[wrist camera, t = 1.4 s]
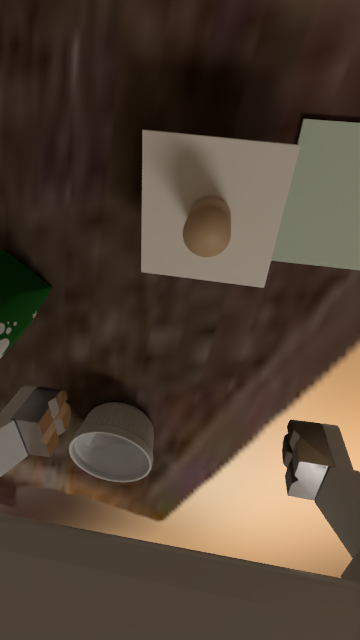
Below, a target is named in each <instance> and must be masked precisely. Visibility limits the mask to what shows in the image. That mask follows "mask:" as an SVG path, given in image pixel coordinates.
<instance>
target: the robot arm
mask: <svg viewBox="0 0 360 640" xmlns="http://www.w3.org/2000/svg"><path fill="white" fill-rule="evenodd" d="M67 398H68V397H67V394H66V391H63V390H58V389H52V388H45V387H38V386H31V385H25V386H23V387H22V388H21V389H20V390H19V391H18V393H17V394H16V395H15V396H14V397H13V399H12V400H11V401H10V402H9V403H8V405H7V406H6V407H5V408H4V409H3V410H2V412H1V413H0V477H1V476H2V475H4V474H5V473H6V472H7V471H9V470H10V469H11V468H13V467H14V466H15V465H16V464H18V463H19V462H20V461H21V460H23V459H24V458H25V457H27V456H28V454H30V455H38V456H46V457H50V456H51V454H52V453H53V451H54V449H55V447H56V446H57V444H58V442H59V439H58V435H60V434H61V433H63V432H64V431H65V430H66V428H67V426H68V424H69V421H70V417H71V410H70V406H69V405H68V404H67V403H66V402H65V401H66V399H67ZM287 429H288V434H287V435H285V437H284V441H283V449H282V452H283V463H284V465H285V466H286V467H287V472H286V475H285V478H286V486H287V493H288V496H294V497H299V498H304V499H310V500H315V503H316V505H317V506H318V508H319V509H320V511H321V512H322V514H323V515H324V517H325V518H326V519H327V521H328V522H329V524H330V525H331V527H332V528H333V530H334V531H335V533H336V534H337V535H338V537H339V538H340V540H341V542H342V543H343V544H344V546H345V547H346V549H347V550H348V552H349V553H350V555H351V556H352V558H353V559H352V561H351V562H350V564H349V565H348V567H347V568H346V570H345V571H344V572H343V574H342V575H341V578H337V577H332V576H326V575H321V574H316V573H311V572H305V571H300V570H294V569H289V568H284V567H279V566H274V565H269V564H263V563H258V562H252V561H247V560H242V559H237V558H232V557H227V556H220V555H216V554H211V553H206V552H200V551H195V550H190V549H185V548H179V547H174V546H169V545H163V544H158V543H153V542H148V541H142V540H137V539H132V538H127V537H122V536H116V535H111V534H105V533H100V532H95V531H90V530H85V529H79V528H74V527H69V526H64V525H58V524H53V523H48V522H43V521H37V520H32V519H27V518H21V517H16V516H11V515H5V514H0V640H360V472H359V471H355V470H353V467H352V464H351V461H350V458H349V456H348V452H347V450H346V447H345V444H344V441H343V438H342V435H341V432H340V429H339V427H338V426H335V425H328V424H320V423H314V422H305V421H297V420H290V421H289V423H288V426H287Z"/></svg>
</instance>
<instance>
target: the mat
mask: <svg viewBox="0 0 360 640" xmlns="http://www.w3.org/2000/svg"><path fill="white" fill-rule="evenodd" d="M297 145H300V150H299V154H298V158H297V162H296V165H295V169H294V173H293V177H292V181H291V185H290V189H289V193H288V197H287V200H286V204H285V208H284V212H283V216H282V220H281V224H280V228H279V232H278V235H277V239H276V243H275V247H274V251H273V255H272V259H271V260H272V261H281V262H290V263H299V264H308V265H317V266H326V267H335V268H344V269H353V270H360V123H353V122H340V121H326V120H313V119H303V121H302V125H301V130H300V134H299V138H298V142H297Z"/></svg>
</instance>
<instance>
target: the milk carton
mask: <svg viewBox="0 0 360 640" xmlns="http://www.w3.org/2000/svg"><path fill="white" fill-rule="evenodd" d="M51 288H52V286H50V285H49V284H48V283H46V282H45V281H44V280H42V279H41V278H40V277H38V276H37V275H36V274H35V273H33V272H32V271H31V270H29V269H28V268H27V267H25V266H24V265H23V264H21V263H20V262H19V261H18V260H16V259H15V258H14V257H12V256H11V255H10V254H8V253H7V252H6V251H4V250H2V251H0V358H1V357H2V356H3V355H4V354H5V353H6V351H7V350H8V349H9V348H10V347H11V346H12V345H13V344H14V343H15V342H16V341H17V340H18V338H19V337H20V336H21V335H22V334H23V332H24V331H25V330H26V328H27V327H28V326H29V324H30V323H31V322H32V320H33V319H34V317H35V316H36V314H37V312H38V310H39V309H40V307H41V305H42V304H43V302H44V300H45V299H46V297H47V295H48V293H49V292H50V290H51Z"/></svg>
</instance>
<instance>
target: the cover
mask: <svg viewBox="0 0 360 640" xmlns="http://www.w3.org/2000/svg"><path fill="white" fill-rule="evenodd" d="M299 150H300V145H297V144H287V143H276V142H266V141H256V140H246V139H236V138H226V137H215V136H205V135H195V134H185V133H175V132H165V131H154V130H142V256H141V272H146V273H153V274H161V275H169V276H177V277H184V278H192V279H200V280H207V281H215V282H223V283H230V284H238V285H246V286H254V287H261V288H264V286H265V282H266V278H267V274H268V270H269V267H270V263H271V259H272V255H273V251H274V247H275V243H276V239H277V235H278V232H279V228H280V224H281V220H282V216H283V212H284V208H285V204H286V200H287V197H288V193H289V189H290V185H291V181H292V177H293V173H294V169H295V165H296V162H297V158H298V154H299Z"/></svg>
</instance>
